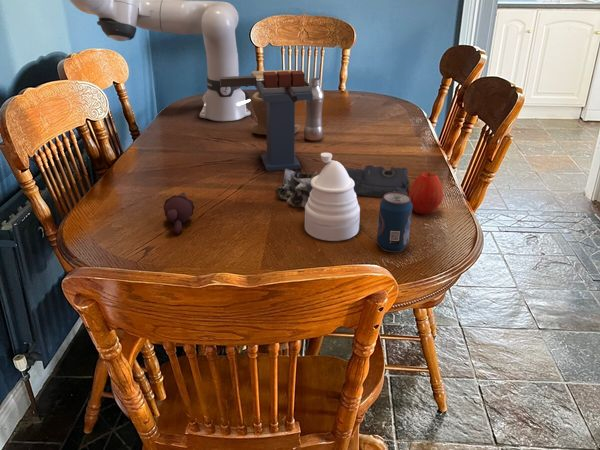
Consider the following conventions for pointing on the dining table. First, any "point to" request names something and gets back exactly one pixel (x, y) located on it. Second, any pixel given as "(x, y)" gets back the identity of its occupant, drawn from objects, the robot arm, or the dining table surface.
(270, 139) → the stand
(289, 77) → the beef skewer
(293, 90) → the steel pan
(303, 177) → the foil
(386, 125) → the dining table surface
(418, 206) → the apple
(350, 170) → the dark slate chunk
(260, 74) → the cutting board
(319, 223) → the honey pot
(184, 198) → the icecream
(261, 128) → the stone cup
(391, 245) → the soda can
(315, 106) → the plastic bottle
